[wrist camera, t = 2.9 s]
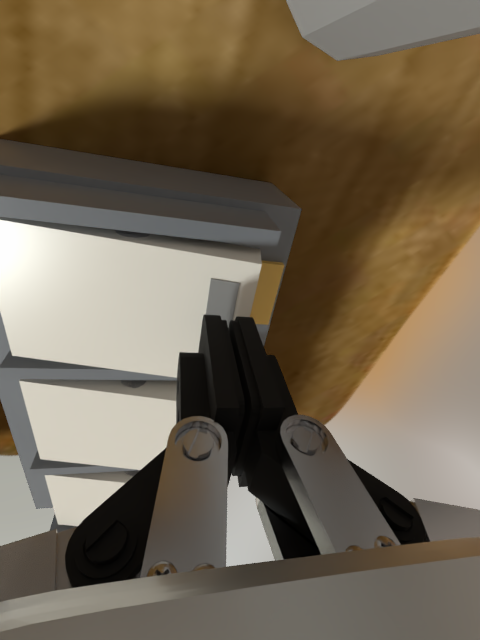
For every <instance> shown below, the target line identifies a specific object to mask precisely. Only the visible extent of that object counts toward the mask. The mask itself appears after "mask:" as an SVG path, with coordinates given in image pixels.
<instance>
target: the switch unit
mask: <svg viewBox="0 0 480 640" xmlns="http://www.w3.org/2000/svg"><path fill="white" fill-rule="evenodd" d="M301 210H302V209H301V208H300V207H299V206H298V205H296V204H295V203H294V202H293V201H292V200H291V199H290V198H288V197H287V196H286V195H285V194H284V193H283V192H282V191H280V190H279V189H278V188H277V187H276V186H275V185H274V184H272V183H269V182H262V181H256V180H250V179H244V178H238V177H232V176H226V175H219V174H213V173H207V172H201V171H195V170H189V169H183V168H176V167H170V166H164V165H158V164H152V163H146V162H140V161H133V160H127V159H121V158H115V157H109V156H103V155H97V154H90V153H84V152H78V151H72V150H66V149H60V148H54V147H48V146H41V145H35V144H29V143H23V142H17V141H11V140H5V139H0V217H7V218H16V219H25V220H34V221H42V222H51V223H60V224H69V225H78V226H87V227H95V228H104V229H113V230H122V231H131V232H140V233H148V234H157V235H166V236H175V237H184V238H193V239H201V240H210V241H215V242H221V243H227V244H233V245H238V246H244V247H250V248H256V249H260V253H261V261H262V266H261V270H260V275H259V279H258V283H257V288H256V292H255V296H254V301H253V305H252V310H251V314H250V317H253V319H254V321H255V324H256V327H257V330H258V332H259V335H260V338H261V341H262V344H263V346H264V344H265V340H266V337H267V333H268V330H269V326H270V322H271V319H272V315H273V311H274V308H275V304H276V300H277V297H278V293H279V290H280V286H281V282H282V279H283V275H284V271H285V268H286V264H287V260H288V257H289V253H290V250H291V246H292V242H293V239H294V235H295V231H296V228H297V224H298V220H299V217H300V213H301ZM20 379H70V380H169V381H177V378H175V377H167V376H160V375H153V374H145V373H138V372H130V371H123V370H115V369H108V368H101V367H93V366H86V365H78V364H71V363H63V362H56V361H49V360H41V359H34V358H26V357H19V356H12V353H11V349H10V346H9V342H8V338H7V335H6V331H5V327H4V324H3V320H2V316H1V313H0V400H1V403H2V406H3V409H4V412H5V415H6V418H7V421H8V424H9V427H10V430H11V433H12V436H13V439H14V442H15V445H16V448H17V451H18V454H19V457H20V461H21V464H22V466H23V469H24V472H25V476H26V479H27V482H28V485H29V488H30V491H31V494H32V497H33V500H34V503H35V506H36V509H38V508H52V507H53V504H52V501H51V497H50V493H49V490H48V486H47V482H46V479H45V475H60V474H79V473H98V472H117V471H136V469H126V468H117V467H108V466H99V465H89V464H80V463H71V462H62V461H52V460H43V459H40V456H39V453H38V449H37V445H36V442H35V438H34V434H33V431H32V427H31V423H30V420H29V416H28V412H27V409H26V405H25V401H24V397H23V394H22V390H21V386H20V383H19V380H20ZM74 527H78V526H69V525H58V523H57V519H56V516H55V515H54V518H53V522H52V525H51V529H50V531H51V530H54V529H57V533H59V532H62V531H65V530H68V529H71V528H74Z"/></svg>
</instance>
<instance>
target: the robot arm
mask: <svg viewBox="0 0 480 640" xmlns="http://www.w3.org/2000/svg"><path fill="white" fill-rule="evenodd" d="M231 473H232V475H233V476H238V482H239V487H245V486H248V491H249V492H251V493H252V494H253V495H254V496H255V497H256V505H257V509H258V512H259V515H260V518H261V520H262V523H263V526H264V529H265V532H266V535H267V538H268V540H269V544H270V547H271V550H272V553H273V556H274V559H275V561H269V562H261V563H252V564H245V565H237V566H229V567H226V528H227V487H228V484H229V480H230V476H231ZM0 640H480V510H477V509H471V508H465V507H460V506H454V505H449V504H444V503H438V502H432V501H427V500H421V499H415V498H413V500H412V501H409V500H407V499H406V498H405V497H404V496H402V495H401V494H400V493H398V492H397V491H395V490H394V489H392V488H391V487H389V486H388V485H386V484H385V483H383V482H382V481H380V480H378V479H377V478H375V477H374V476H372V475H371V474H369V473H368V472H366V471H365V470H363V469H361V468H360V467H359V466H357V465H355V464H354V463H352V462H351V461H349V460H348V459H347V458H346V457H345V455H344V454H343V452H342V450H341V449H340V447H339V446H338V444H337V443H336V441H335V439H334V438H333V436H332V435H331V433H330V432H329V430H328V429H327V428H326V427H325V426H324V425H323V424H322V423H321V422H319V421H318V420H316V419H314V418H312V417H309V416H305V415H298V413H297V411H296V408H295V405H294V403H293V400H292V398H291V395H290V393H289V390H288V387H287V385H286V382H285V380H284V377H283V375H282V372H281V369H280V367H279V364H278V362H277V359H276V357H275V356H273V355H266V352H265V349H264V346H263V344H262V341H261V338H260V335H259V332H258V330H257V327H256V324H255V321H254V319H253V317H239V316H237V317H236V319H235V320H230V322H229V327H228V325H227V321H226V320H221V316H220V315H206V314H204V315H203V320H202V328H201V335H200V343H199V350H198V353H187V352H180V353H179V359H178V370H177V387H176V425H175V426H174V427H173V428H172V429H171V432H170V434H169V437H168V442H167V447H166V448H165V449H164V450H163V451H162V452H161V453H159V454H158V455H157V456H156V457H155V458H154V459H153V460H151V461H150V462H149V463H148V464H147V465H146V466H145V467H143V468H142V469H141V470H140V471H139V472H138V473H137V474H135V475H134V476H133V477H132V478H131V479H130V480H129V481H127V482H126V483H125V484H124V485H123V486H122V487H121V488H119V489H118V490H117V491H116V492H115V493H114V494H112V495H111V496H110V497H109V498H108V499H107V500H106V501H104V502H103V503H102V504H101V505H100V506H99V507H98V508H96V509H95V510H94V511H93V512H92V513H91V514H90V515H88V516H87V517H86V518H85V519H84V520H83V521H82V522H81V523H80V524H79V526H78V527H74V528H71V529H68V530H65V531H62V532H59V533H57V529H54V530H51V531H48V532H45V533H42V534H38V535H36V536H32V537H29V538H26V539H22V540H19V541H16V542H12V543H9V544H6V545H3V546H0Z"/></svg>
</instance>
